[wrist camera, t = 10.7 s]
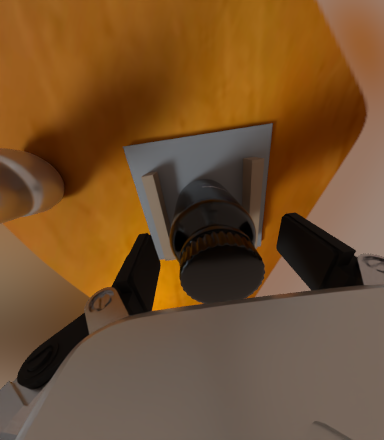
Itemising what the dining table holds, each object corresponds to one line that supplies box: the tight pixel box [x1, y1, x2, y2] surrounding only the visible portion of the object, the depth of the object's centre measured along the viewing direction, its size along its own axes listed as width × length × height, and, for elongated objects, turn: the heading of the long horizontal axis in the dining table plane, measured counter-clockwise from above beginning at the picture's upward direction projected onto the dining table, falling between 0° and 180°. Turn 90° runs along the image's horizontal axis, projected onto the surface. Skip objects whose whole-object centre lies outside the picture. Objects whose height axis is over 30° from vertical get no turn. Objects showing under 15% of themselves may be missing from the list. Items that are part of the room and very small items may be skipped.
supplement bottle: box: [169, 179, 265, 304], centre depth 13 cm, size 7×7×12 cm
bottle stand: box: [123, 123, 273, 261], centre depth 18 cm, size 16×16×4 cm
